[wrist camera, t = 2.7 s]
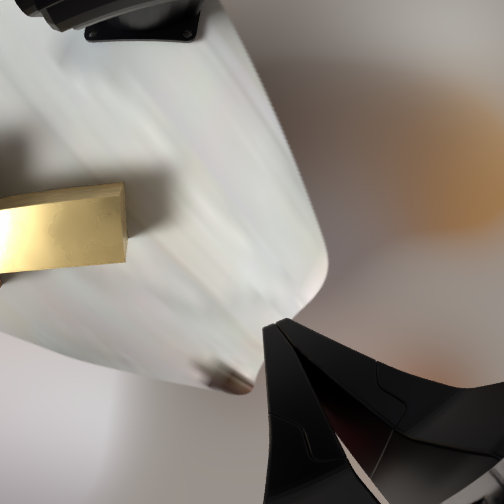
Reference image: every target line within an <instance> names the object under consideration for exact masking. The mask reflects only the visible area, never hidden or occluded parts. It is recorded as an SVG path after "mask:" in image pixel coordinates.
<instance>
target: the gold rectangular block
mask: <svg viewBox="0 0 504 504" xmlns="http://www.w3.org/2000/svg"><path fill="white" fill-rule="evenodd" d="M127 244H128V233H127V222H126V209H125V194H124V182H122V183H110V184H100V185H90V186H81V187H72V188H64V189H56V190H49V191H41V192H35V193H28V194H21V195H15V196H9V197H4V198H0V273H9V272H20V271H32V270H43V269H54V268H65V267H77V266H88V265H100V264H111V263H122V262H126V253H127Z"/></svg>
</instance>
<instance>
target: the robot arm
mask: <svg viewBox="0 0 504 504" xmlns="http://www.w3.org/2000/svg"><path fill="white" fill-rule="evenodd" d="M205 1H206V0H15V2H16V4H17V5H18V6H19V8H20V9H21V10H22V12H24V13H25V14H26V15H27V16H30V17H44V18H45V20H46V22H47V23H48V24H49V25H50V26H51V27H52V29H54V30H57V31H60V32H64V31H67V30H69V29H71V28H73V29H75V30H80V29H82V28H85V27H86V28H85V33H84V37H85V39H86V40H87V41H88V42H92V43H93V42H110V41H163V42H181V43H189V42H191V41H193V40H194V38H195V37H196V34H197V28H198V22H199V16H200V11H201V8H202V6H203V4H204V2H205ZM93 31H97V34H96V35H95V36H94V37H90V36H89V35H90V33H91V32H93ZM184 32H190V33H191V36H190V37H188V38H187V37H185V36H184V35H183V33H184ZM262 332H263V346H264V359H265V373H266V387H267V402H268V414H269V416H268V418H269V457H268V468H267V476H266V485H265V493H264V501H263V504H381V503H380V502H379V501H378V500H377V498H376V497H375V496H374V495H373V494H372V492H371V491H370V490H369V489H368V488H367V487H366V485H365V484H364V483H363V482H362V481H361V479H360V478H359V477H358V475H357V474H356V473H355V471H354V469H353V468H352V466H351V464H350V462H349V460H348V459H347V456H346V454H345V452H344V450H343V448H342V446H341V444H340V442H339V440H338V438H337V436H338V437H339V438H340V440H341V441H342V442H343V444H344V445H345V446H346V448H347V449H348V450H349V451H350V453H351V454H352V456H353V457H354V458H355V459H356V461H357V462H358V463H359V465H360V466H361V468H362V469H363V470H364V471H365V473H366V474H367V475H368V477H369V478H370V479H371V480H372V482H373V483H374V484H375V486H376V487H377V488H378V490H379V491H380V492H381V493H382V495H383V496H384V497H385V499H386V500H387V501H388V502H389V504H504V382H501V383H496V384H492V385H487V386H481V387H476V388H457V387H453V386H448V385H445V384H442V383H438V382H435V381H431V380H428V379H424V378H421V377H418V376H415V375H411V374H408V373H406V372H403V371H400V370H398V369H395V368H393V367H390V366H388V365H385V364H384V363H381V362H379V361H376V360H374V359H372V358H370V357H368V356H366V355H364V354H361V353H359V352H357V351H355V350H353V349H351V348H349V347H346V346H344V345H342V344H340V343H338V342H336V341H334V340H331V339H330V338H328V337H326V336H324V335H321V334H319V333H317V332H315V331H313V330H311V329H309V328H307V327H305V326H303V325H301V324H299V323H297V322H295V321H293V320H291V319H289V318H285V319H282V320H280V321H278V322H276V323H275V324H270V325H268V326H265V327H263V329H262ZM334 431H335V432H334ZM335 433H336V434H337V436H336V434H335Z"/></svg>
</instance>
